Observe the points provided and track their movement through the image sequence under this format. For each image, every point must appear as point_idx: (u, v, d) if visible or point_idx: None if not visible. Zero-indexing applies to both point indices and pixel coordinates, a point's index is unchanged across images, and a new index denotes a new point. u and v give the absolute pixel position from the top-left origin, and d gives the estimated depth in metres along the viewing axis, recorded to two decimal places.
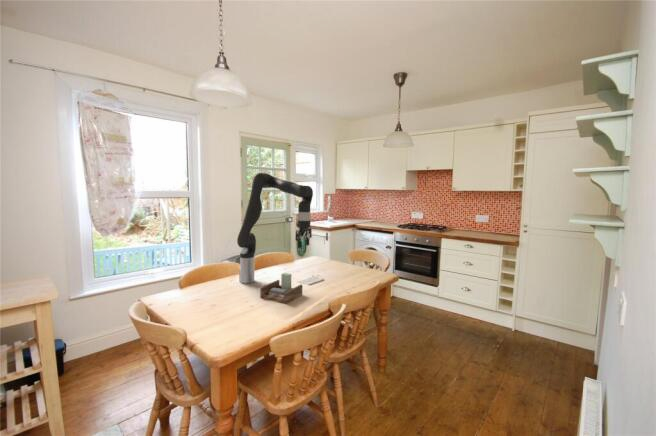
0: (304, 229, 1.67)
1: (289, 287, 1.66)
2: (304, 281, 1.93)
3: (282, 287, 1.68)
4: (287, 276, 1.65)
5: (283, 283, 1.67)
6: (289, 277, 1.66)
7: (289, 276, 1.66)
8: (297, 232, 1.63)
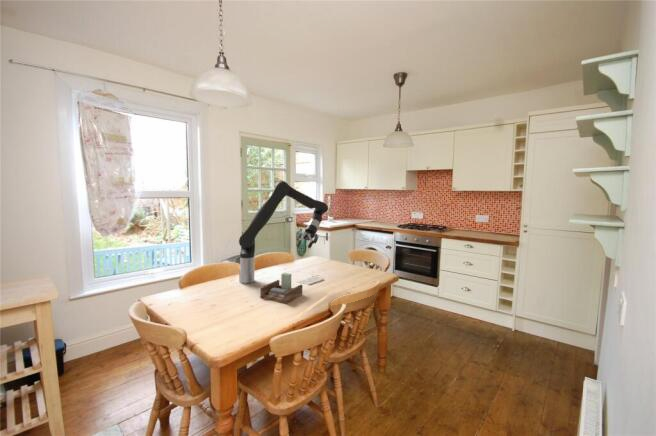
0: None
1: (289, 287, 1.66)
2: (304, 281, 1.93)
3: (282, 287, 1.68)
4: (287, 276, 1.65)
5: (283, 283, 1.67)
6: (289, 277, 1.66)
7: (289, 276, 1.66)
8: (317, 236, 1.83)
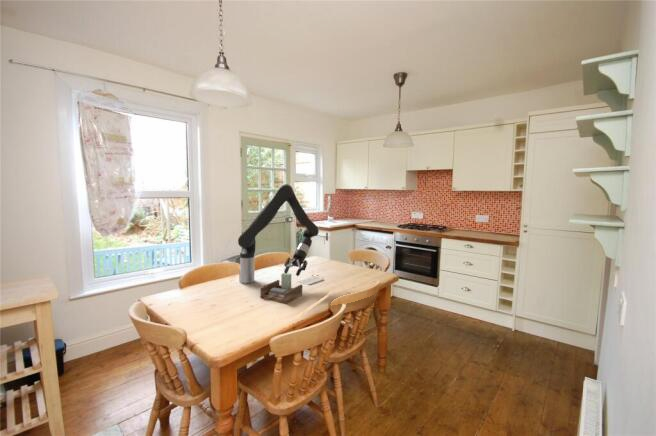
0: None
1: (289, 287, 1.66)
2: (304, 281, 1.93)
3: (282, 287, 1.68)
4: (287, 276, 1.65)
5: (283, 283, 1.67)
6: (289, 277, 1.66)
7: (289, 276, 1.66)
8: (306, 262, 1.74)
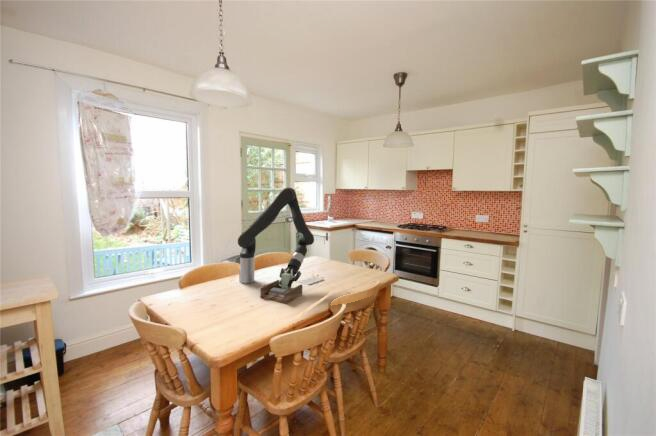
0: None
1: (289, 287, 1.66)
2: (304, 281, 1.93)
3: (282, 287, 1.68)
4: (287, 276, 1.65)
5: (283, 283, 1.67)
6: (289, 277, 1.66)
7: (289, 276, 1.66)
8: (300, 274, 1.68)
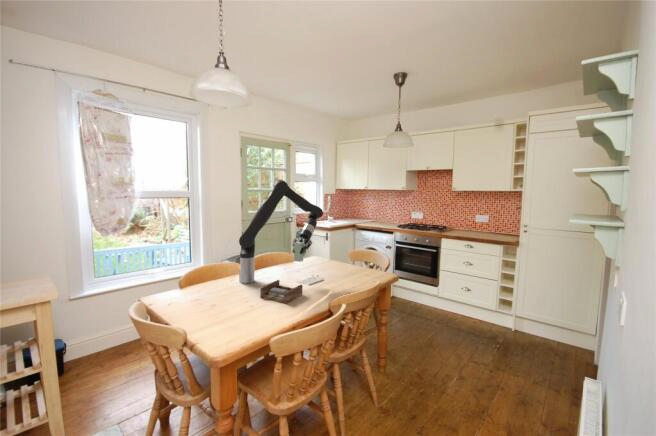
0: None
1: (301, 254, 1.83)
2: (304, 281, 1.93)
3: (295, 254, 1.84)
4: (299, 244, 1.81)
5: (296, 251, 1.83)
6: (301, 245, 1.82)
7: (301, 244, 1.82)
8: (311, 242, 1.84)
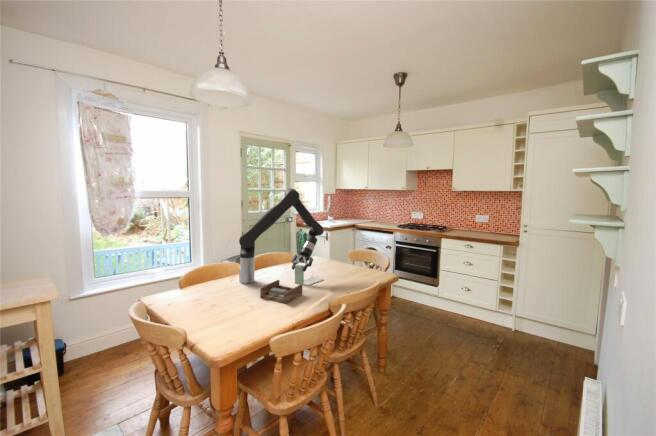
0: None
1: (301, 277, 1.86)
2: (304, 282, 1.93)
3: (296, 277, 1.87)
4: (300, 267, 1.85)
5: (296, 274, 1.87)
6: (302, 268, 1.86)
7: (302, 267, 1.86)
8: (312, 259, 1.87)
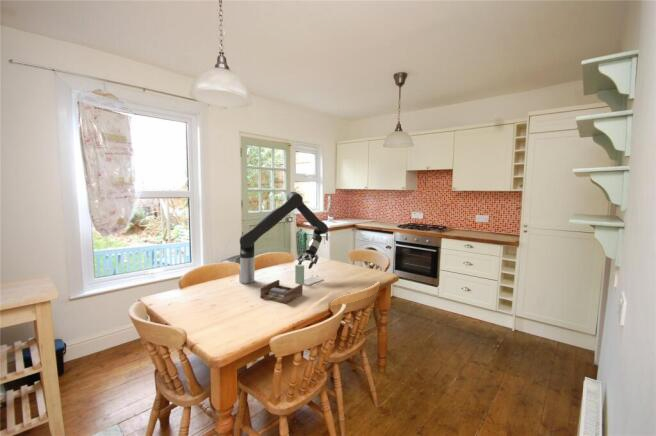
0: None
1: (302, 277, 1.86)
2: (304, 281, 1.93)
3: (296, 277, 1.87)
4: (300, 267, 1.85)
5: (297, 273, 1.87)
6: (302, 268, 1.86)
7: (302, 267, 1.86)
8: (317, 257, 1.93)
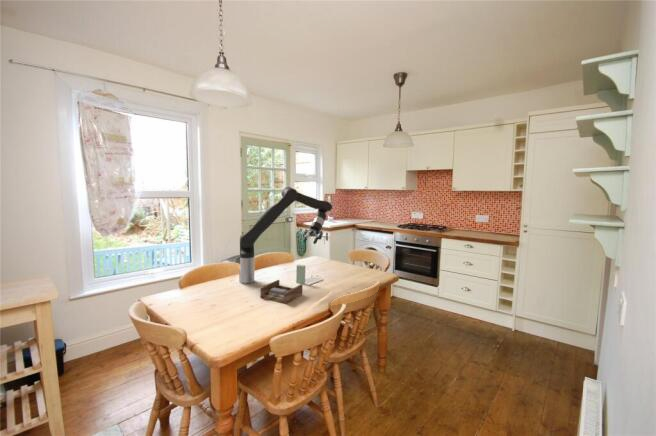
0: None
1: (303, 277, 1.86)
2: None
3: (297, 277, 1.88)
4: (302, 267, 1.85)
5: (298, 273, 1.87)
6: (303, 268, 1.86)
7: (303, 267, 1.86)
8: (322, 232, 1.97)
